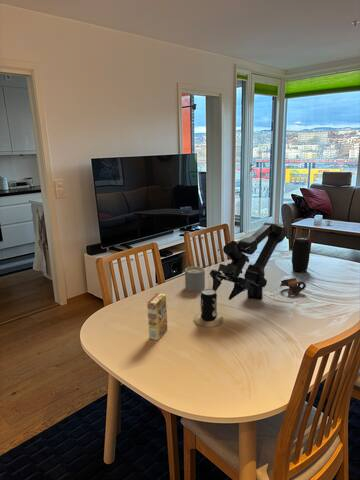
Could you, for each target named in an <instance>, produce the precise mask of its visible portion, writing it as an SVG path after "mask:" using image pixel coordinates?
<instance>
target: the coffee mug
mask: <svg viewBox="0 0 360 480" xmlns="http://www.w3.org/2000/svg"><path fill="white" fill-rule="evenodd" d="M205 271H206V269H205V268H204V267H202V266H188V267H187V268H185V269H184V278H185V279H184V283H185V284H184V287H185V290H186V291H188V292H192V293H200V292H202V290H205V289H206V287H205V286H206V283H205V282H206V279H205V278H206V272H205Z"/></svg>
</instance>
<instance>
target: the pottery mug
mask: <svg viewBox="0 0 360 480" xmlns="http://www.w3.org/2000/svg"><path fill="white" fill-rule="evenodd" d="M301 285H302V287H301ZM281 287H288V288H289V289H290V290H288V291H287V294H288V297H291V296H300V293H301V292H302V291H303V290H305V289H306V288H307V284H306V282H305V281H304V280H303V281H301V280H300V281H298V280H297V278H293V277H292V278H286V279H282V280H281V281H280V288H281Z"/></svg>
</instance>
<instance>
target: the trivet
mask: <svg viewBox="0 0 360 480" xmlns="http://www.w3.org/2000/svg"><path fill="white" fill-rule="evenodd" d="M193 320H194V323H195V324H196V325H197V326H200V327H203V328H214V327H215V328H216V327H218V326H220V325H221V324H223V322H224V318H223V316H222V315H221V314H219V313H217V317H216V319H215V320H213V321H204V320H203V319H202V318H201V312H199V313H197V314H196V315H195V316H194V318H193Z"/></svg>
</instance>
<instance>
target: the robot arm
mask: <svg viewBox="0 0 360 480" xmlns="http://www.w3.org/2000/svg"><path fill="white" fill-rule="evenodd" d="M287 235H288V229H287V227H286V226H283V225H282V226H281V225H277V224H275V223H273V222H267V221H266V222H264V223H263V224H262V226H261V227H260V228H259V229H257V230H256V231H255V232H254V233H252V235H250V236H248V237H244V238H242V239H240V240H239V241H238V242H237V241H235V240H231V241H230V242H228V243H226V244H225V245H224V246H223V253H224V254H225V255H226V256H227V258H229V260H230V261H231V262H230V263H227V264H223V263H219V266H218V269H214V268H213V269H211V270H210V272H209V275H210V277H211V278H212V288H211V289H212V290H215V291H216V292H217V290H218V289H219V288H220V286H221V284H222V281H223V280H224V281H228V282H229V283H233V289H232V290H231V292H230V294H229V296H228V300H229V301H231V300H232V299H234V298H235V297H237V296H238V295H239V294H240V293H242V292H246V293H247V298H248V299H253V300H263V297H264V293H263V292H264V291H263V289H264V288H265V287H266V286H267V283H268V280H267V279H266V278H265V274H266V273H265V268H266V267H267V264H268V263H269V260H270V259H271V257H272V255H273V253H274V251H275V248H276V247H277V245H278V244H279V243H281V242H283V241H284V239H285V238H286V237H287ZM266 237H267V240H266V242H265V243H264V246H263V248H262V249H261V251H260V253H259V254H258V257H257V258H256V260H255V262H254V263H253V264H249V265H248V266H247V268H246V270H245V272H243V269H244V266H245V265H246V263H250V258H249V256H248V255H253V254H255V252H256V251H257V250H258V245H259V244H261V242H262V241H264V240H265V239H266ZM243 273H244V278H243V277H239V276H240V275H241V274H243Z"/></svg>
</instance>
